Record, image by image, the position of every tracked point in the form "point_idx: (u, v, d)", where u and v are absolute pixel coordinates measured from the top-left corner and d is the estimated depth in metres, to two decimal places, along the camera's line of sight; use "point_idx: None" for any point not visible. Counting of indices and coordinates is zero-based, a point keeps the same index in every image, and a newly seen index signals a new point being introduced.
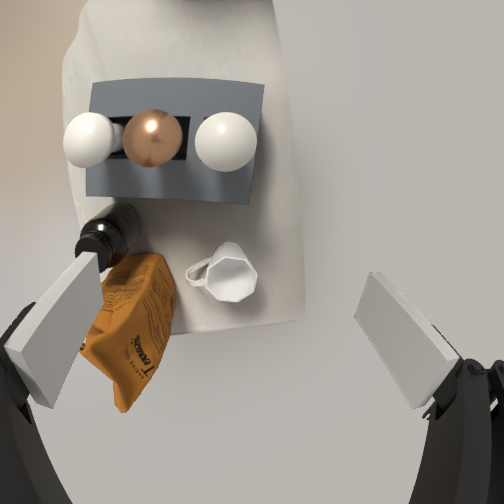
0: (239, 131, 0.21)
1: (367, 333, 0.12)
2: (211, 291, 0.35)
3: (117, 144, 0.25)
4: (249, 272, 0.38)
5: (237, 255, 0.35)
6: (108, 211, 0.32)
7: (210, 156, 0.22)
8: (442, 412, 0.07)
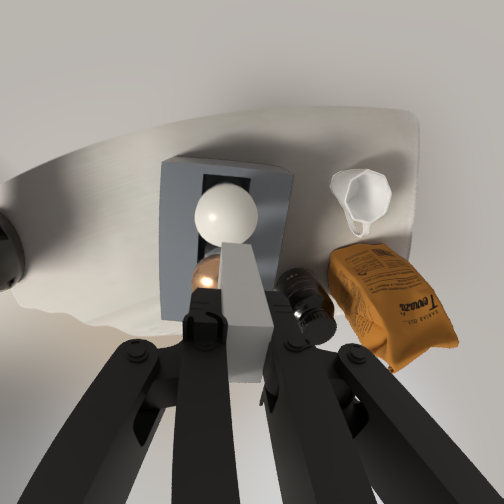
0: (215, 204, 0.22)
1: None
2: (376, 218, 0.32)
3: None
4: (363, 173, 0.32)
5: (345, 186, 0.31)
6: None
7: (240, 232, 0.23)
8: (277, 399, 0.08)
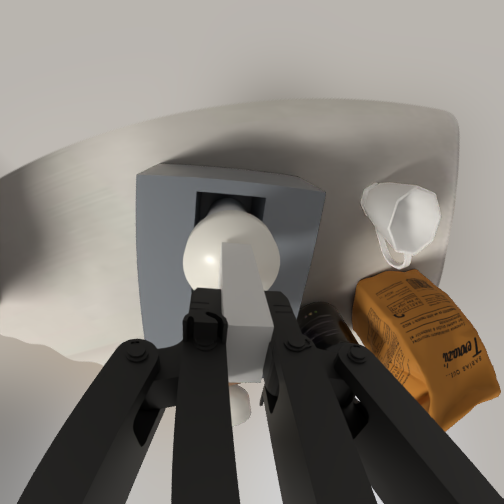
0: (214, 245, 0.14)
1: None
2: (422, 247, 0.23)
3: None
4: None
5: (388, 208, 0.22)
6: None
7: None
8: (277, 399, 0.08)
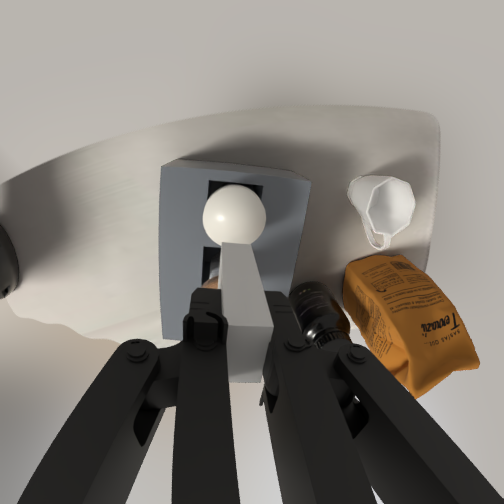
0: (223, 205, 0.22)
1: None
2: (399, 230, 0.28)
3: None
4: None
5: (366, 195, 0.27)
6: None
7: (248, 234, 0.23)
8: (277, 399, 0.08)
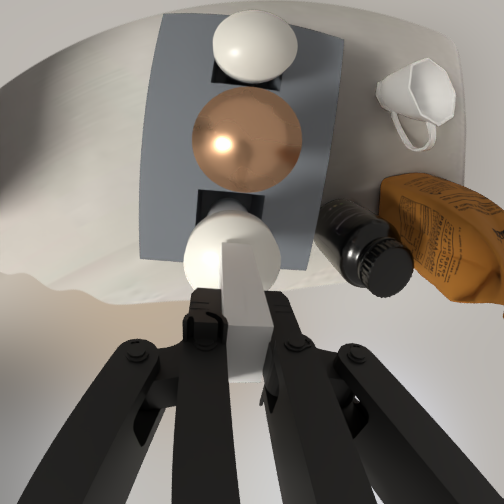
0: (241, 26, 0.12)
1: None
2: (444, 120, 0.19)
3: None
4: (420, 70, 0.19)
5: (404, 74, 0.18)
6: (328, 239, 0.25)
7: (275, 61, 0.13)
8: (277, 399, 0.08)
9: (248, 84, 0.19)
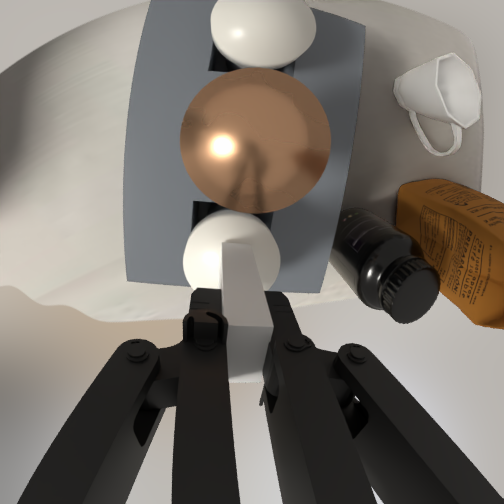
0: (247, 1, 0.09)
1: None
2: (471, 122, 0.15)
3: None
4: (443, 66, 0.15)
5: (429, 69, 0.14)
6: (343, 256, 0.22)
7: (289, 43, 0.10)
8: None
9: None
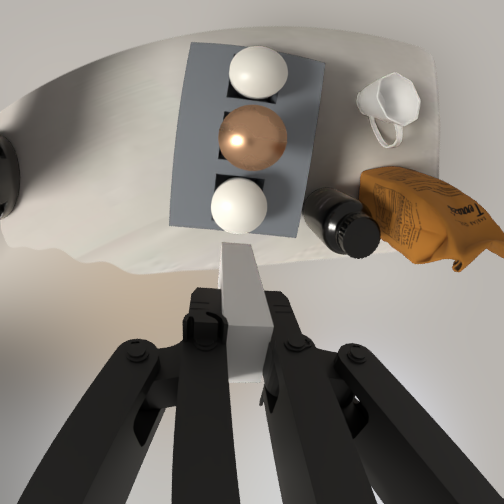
0: (249, 59, 0.20)
1: None
2: (409, 121, 0.26)
3: None
4: (390, 82, 0.26)
5: (375, 87, 0.25)
6: (314, 216, 0.32)
7: (272, 84, 0.21)
8: (277, 399, 0.08)
9: None
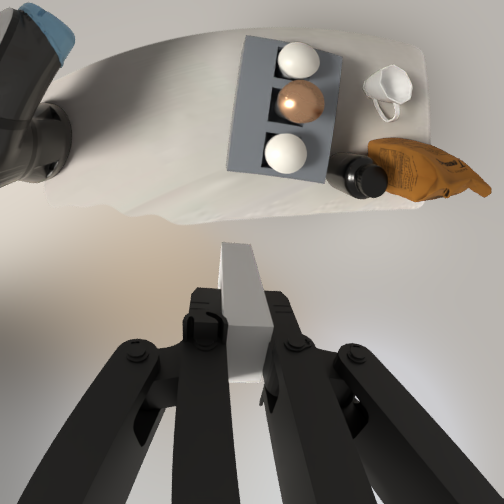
0: (293, 50, 0.27)
1: None
2: (404, 100, 0.33)
3: None
4: (389, 72, 0.33)
5: (378, 75, 0.32)
6: (336, 171, 0.40)
7: (309, 69, 0.28)
8: (277, 399, 0.08)
9: None
